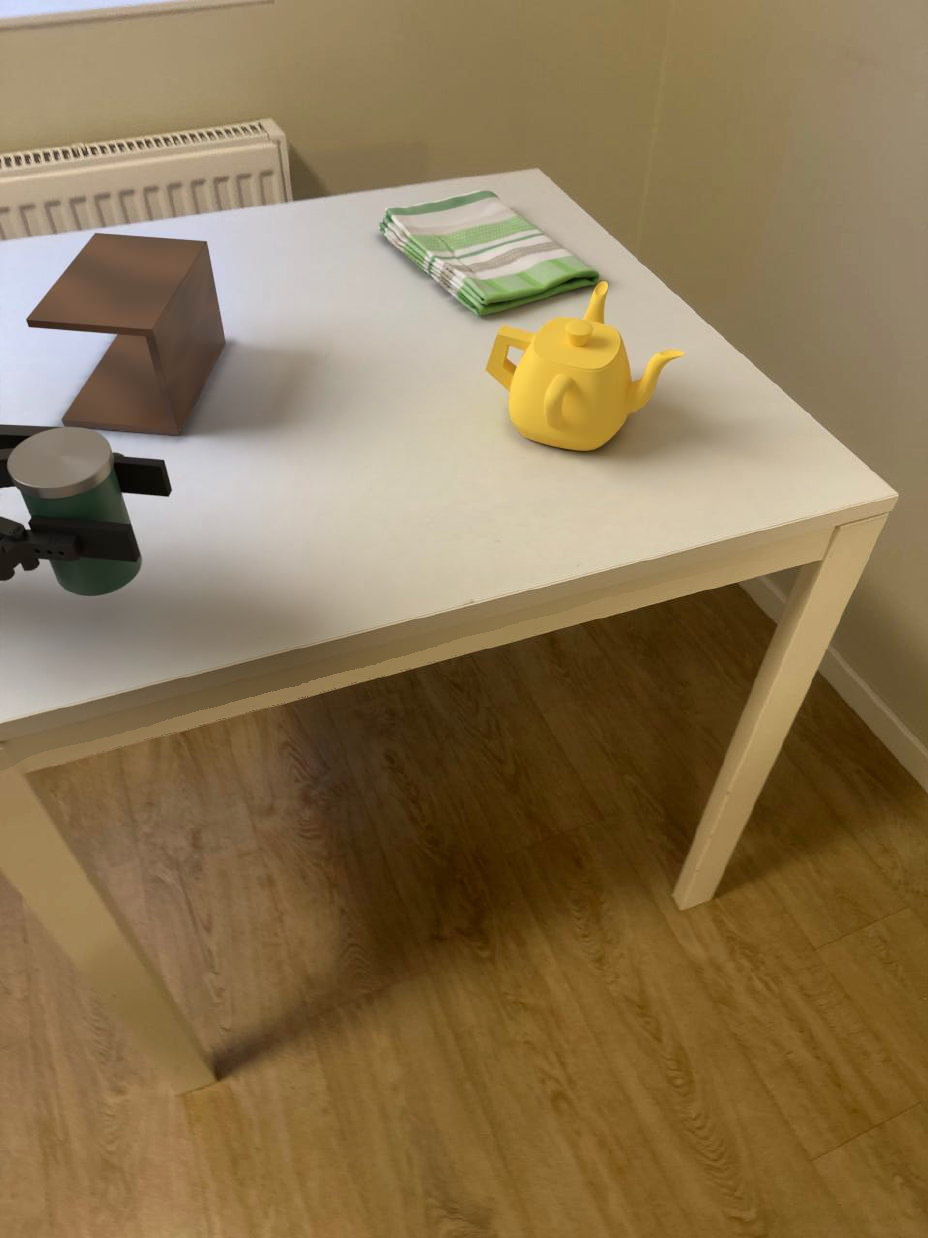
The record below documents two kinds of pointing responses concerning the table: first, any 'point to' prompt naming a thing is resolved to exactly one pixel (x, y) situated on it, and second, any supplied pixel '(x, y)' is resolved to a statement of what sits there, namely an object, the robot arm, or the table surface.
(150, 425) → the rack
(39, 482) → the tin
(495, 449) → the table surface
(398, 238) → the dish towel
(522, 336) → the teapot
